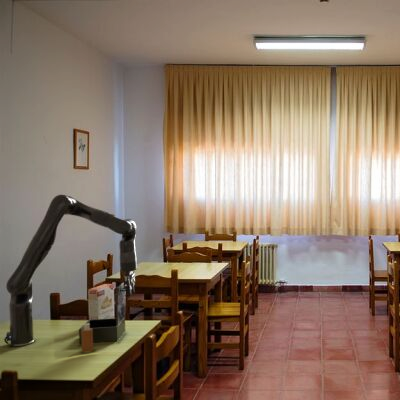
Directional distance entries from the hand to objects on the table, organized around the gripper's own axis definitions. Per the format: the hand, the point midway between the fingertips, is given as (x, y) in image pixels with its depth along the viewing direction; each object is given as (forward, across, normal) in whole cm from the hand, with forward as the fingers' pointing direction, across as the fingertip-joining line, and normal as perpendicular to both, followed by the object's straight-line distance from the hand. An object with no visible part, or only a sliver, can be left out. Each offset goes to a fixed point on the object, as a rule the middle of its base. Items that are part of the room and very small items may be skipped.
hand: (130, 294), depth 241 cm
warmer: (+21, 0, -14) cm, 25 cm away
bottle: (+20, +17, -16) cm, 31 cm away
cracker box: (+21, -24, -20) cm, 38 cm away
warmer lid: (+4, 0, -5) cm, 6 cm away
